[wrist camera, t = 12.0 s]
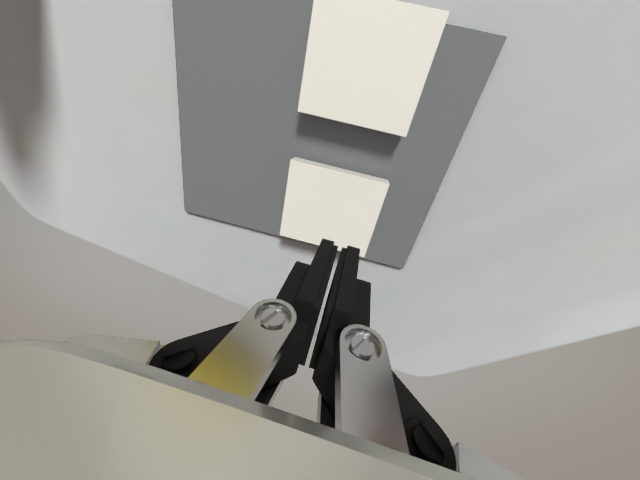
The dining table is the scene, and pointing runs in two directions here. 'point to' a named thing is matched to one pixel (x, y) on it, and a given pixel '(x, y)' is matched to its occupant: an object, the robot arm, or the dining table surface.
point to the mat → (307, 119)
